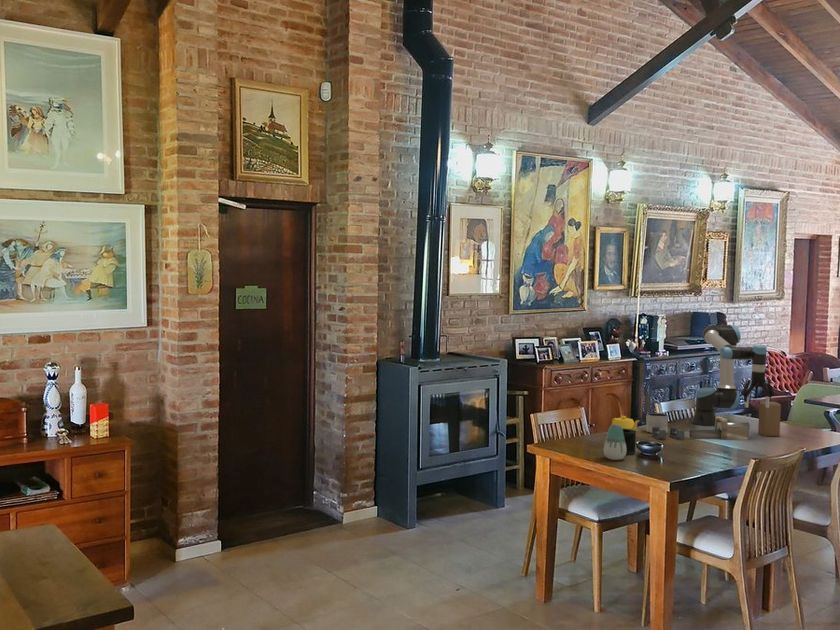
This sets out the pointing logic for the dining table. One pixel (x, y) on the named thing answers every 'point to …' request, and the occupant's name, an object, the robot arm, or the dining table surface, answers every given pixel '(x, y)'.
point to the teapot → (625, 423)
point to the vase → (615, 443)
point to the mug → (630, 440)
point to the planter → (656, 421)
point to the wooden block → (769, 419)
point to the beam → (721, 432)
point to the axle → (734, 425)
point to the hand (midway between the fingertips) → (756, 407)
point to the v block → (662, 433)
